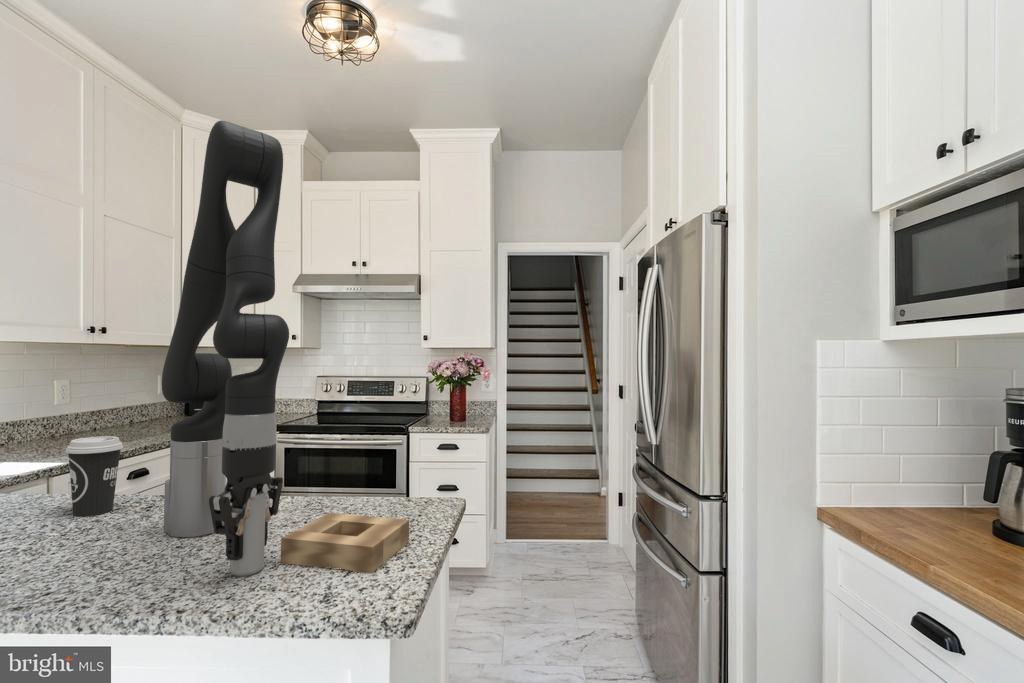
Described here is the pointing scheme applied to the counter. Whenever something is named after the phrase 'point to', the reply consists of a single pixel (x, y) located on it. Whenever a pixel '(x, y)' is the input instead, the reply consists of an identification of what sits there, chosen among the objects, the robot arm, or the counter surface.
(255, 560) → the beverage can
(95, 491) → the coffee cup
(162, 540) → the counter surface
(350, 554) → the socket
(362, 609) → the counter surface
